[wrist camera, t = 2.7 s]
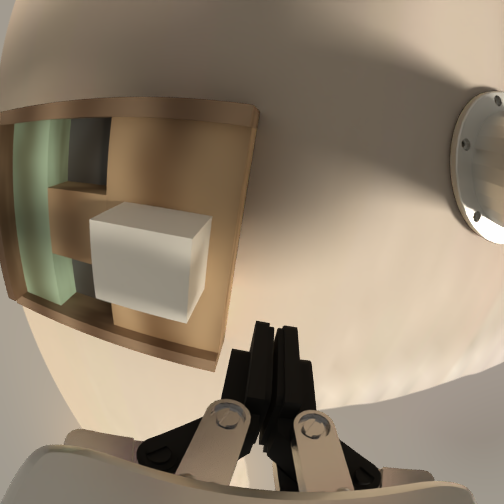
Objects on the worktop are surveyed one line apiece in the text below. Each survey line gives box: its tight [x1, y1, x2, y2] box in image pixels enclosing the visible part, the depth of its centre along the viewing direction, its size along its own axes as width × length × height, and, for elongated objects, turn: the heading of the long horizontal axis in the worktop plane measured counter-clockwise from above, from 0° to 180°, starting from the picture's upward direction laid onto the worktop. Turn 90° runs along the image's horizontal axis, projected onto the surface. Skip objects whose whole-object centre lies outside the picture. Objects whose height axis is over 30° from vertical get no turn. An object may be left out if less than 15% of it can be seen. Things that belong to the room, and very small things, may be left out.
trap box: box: [0, 97, 260, 372], centre depth 19 cm, size 21×18×5 cm
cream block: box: [89, 202, 212, 324], centre depth 16 cm, size 6×5×4 cm
